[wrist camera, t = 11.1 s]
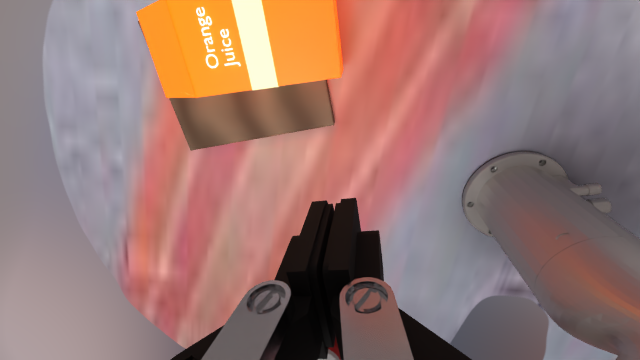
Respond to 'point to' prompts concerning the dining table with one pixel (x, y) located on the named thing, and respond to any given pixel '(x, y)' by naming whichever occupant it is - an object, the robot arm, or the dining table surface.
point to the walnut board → (253, 113)
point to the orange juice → (241, 44)
